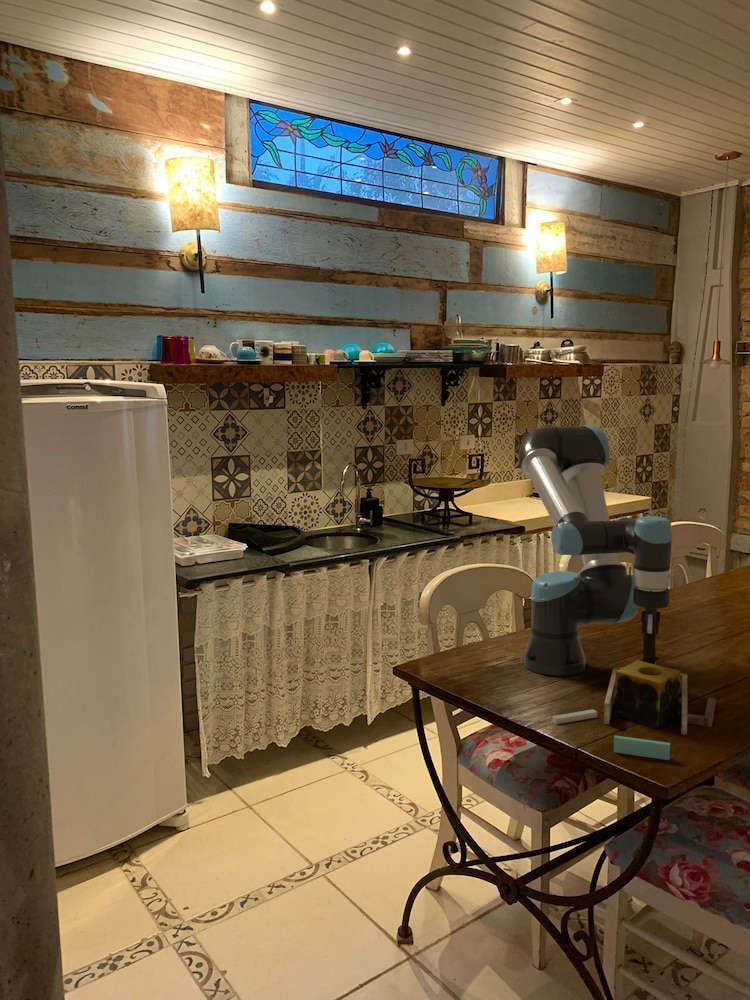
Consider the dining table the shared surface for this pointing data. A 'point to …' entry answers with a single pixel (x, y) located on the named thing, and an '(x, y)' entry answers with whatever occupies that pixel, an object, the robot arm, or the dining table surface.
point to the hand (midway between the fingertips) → (648, 689)
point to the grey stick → (574, 716)
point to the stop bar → (642, 747)
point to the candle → (647, 693)
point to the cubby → (612, 693)
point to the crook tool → (705, 719)
